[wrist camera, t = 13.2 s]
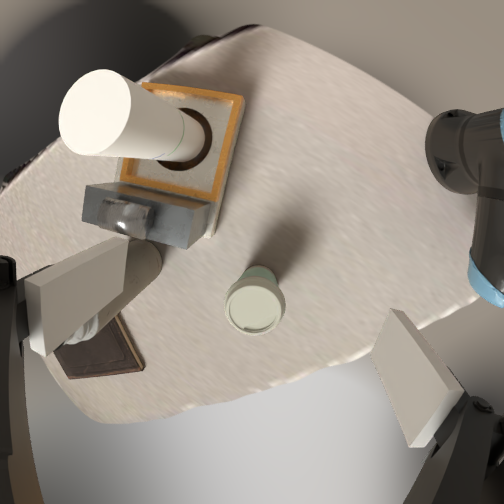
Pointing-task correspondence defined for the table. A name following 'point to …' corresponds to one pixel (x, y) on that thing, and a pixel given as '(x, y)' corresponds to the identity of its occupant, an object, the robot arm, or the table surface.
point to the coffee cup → (255, 302)
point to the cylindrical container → (125, 121)
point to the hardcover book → (100, 354)
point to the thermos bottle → (124, 288)
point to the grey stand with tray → (173, 176)
